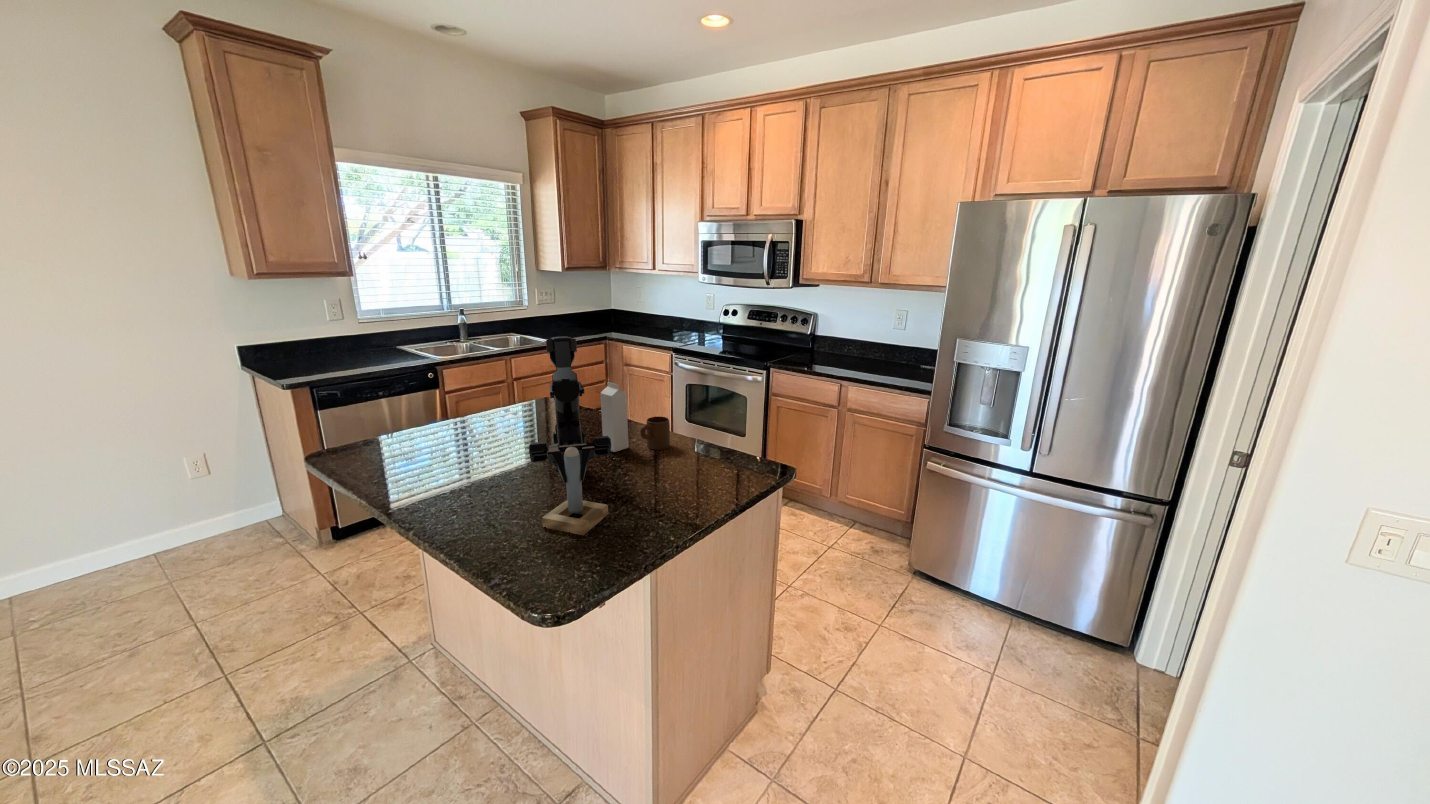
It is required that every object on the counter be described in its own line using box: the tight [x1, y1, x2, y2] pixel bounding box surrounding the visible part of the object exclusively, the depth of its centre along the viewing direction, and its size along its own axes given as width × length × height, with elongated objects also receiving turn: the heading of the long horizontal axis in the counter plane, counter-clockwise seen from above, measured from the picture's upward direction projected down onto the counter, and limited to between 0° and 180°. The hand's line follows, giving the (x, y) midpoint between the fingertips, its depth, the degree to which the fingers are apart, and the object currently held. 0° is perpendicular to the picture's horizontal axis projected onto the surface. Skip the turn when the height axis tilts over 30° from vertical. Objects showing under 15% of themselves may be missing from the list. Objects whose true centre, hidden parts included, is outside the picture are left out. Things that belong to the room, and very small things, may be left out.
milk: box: [599, 381, 630, 453], centre depth 172 cm, size 6×6×22 cm
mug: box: [639, 416, 671, 451], centre depth 174 cm, size 12×8×9 cm, turn 145°
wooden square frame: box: [541, 499, 609, 536], centre depth 127 cm, size 11×11×2 cm
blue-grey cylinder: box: [564, 447, 583, 514], centre depth 124 cm, size 4×4×16 cm
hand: (573, 482), depth 123 cm, fingers closed on blue-grey cylinder, 3 cm apart
